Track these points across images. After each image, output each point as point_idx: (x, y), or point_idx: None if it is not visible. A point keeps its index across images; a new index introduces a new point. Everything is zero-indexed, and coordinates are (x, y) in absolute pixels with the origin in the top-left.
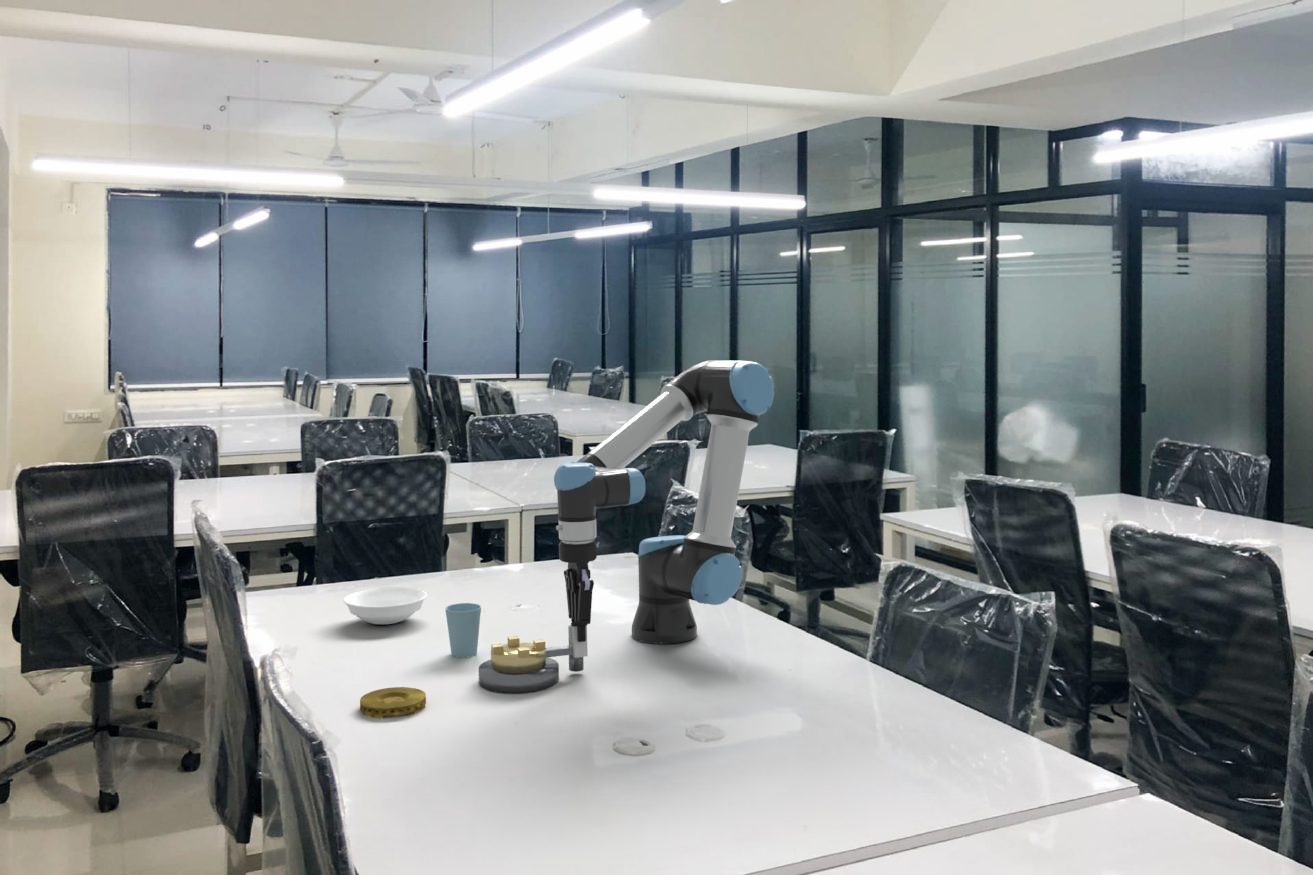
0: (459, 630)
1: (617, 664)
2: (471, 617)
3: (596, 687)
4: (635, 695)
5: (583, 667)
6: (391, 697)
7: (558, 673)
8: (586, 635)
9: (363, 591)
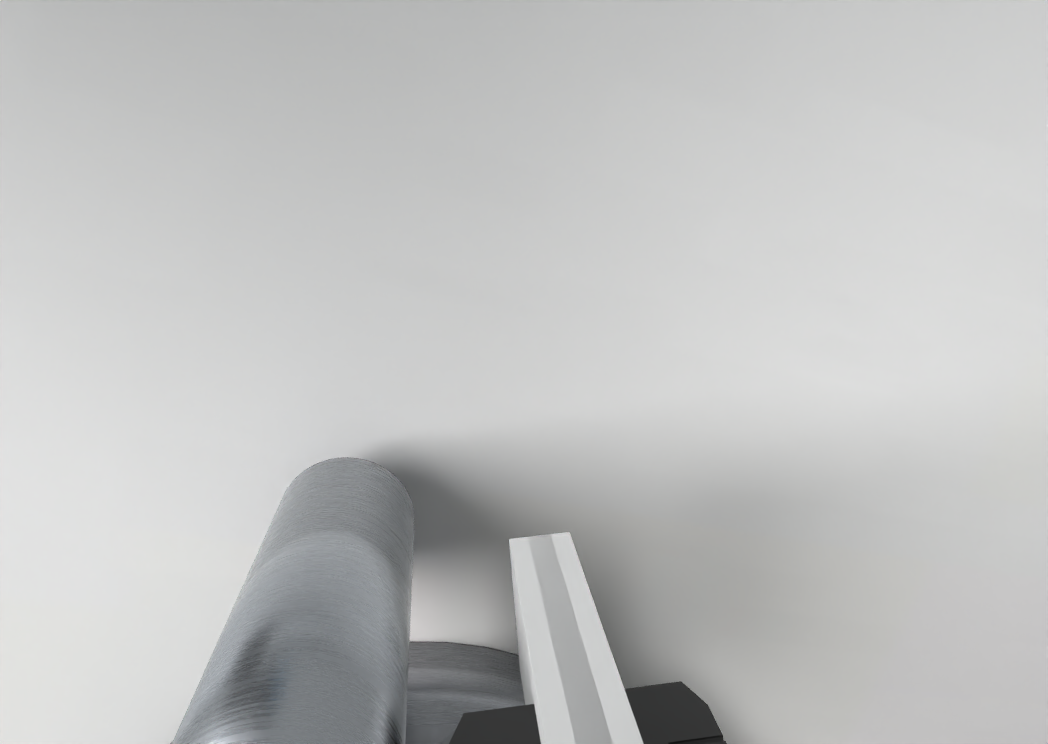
0: None
1: (127, 59)
2: None
3: (735, 407)
4: (1032, 153)
5: (367, 467)
6: None
7: (501, 690)
8: (624, 704)
9: None
